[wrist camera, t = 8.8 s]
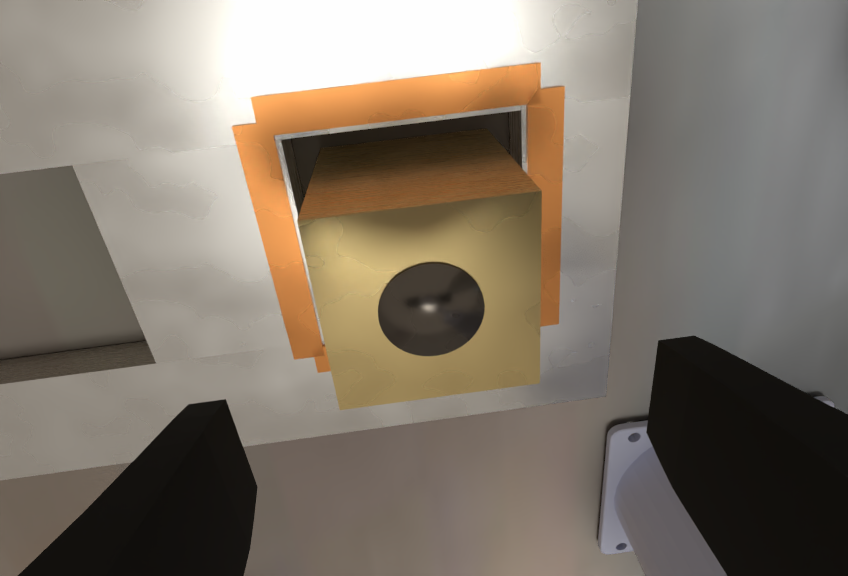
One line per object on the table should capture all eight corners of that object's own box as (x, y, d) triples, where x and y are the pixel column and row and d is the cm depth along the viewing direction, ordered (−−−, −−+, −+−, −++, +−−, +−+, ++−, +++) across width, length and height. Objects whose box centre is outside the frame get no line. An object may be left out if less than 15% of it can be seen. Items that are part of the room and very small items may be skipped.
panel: (618, -73, 14) (646, -81, 13) (591, 371, 21) (607, 398, 20) (-354, 37, 13) (-441, 41, 12) (-48, 458, 20) (-79, 493, 19)
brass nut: (486, 128, 16) (542, 191, 11) (491, 274, 19) (540, 385, 13) (321, 147, 16) (296, 221, 11) (348, 292, 18) (339, 412, 13)
